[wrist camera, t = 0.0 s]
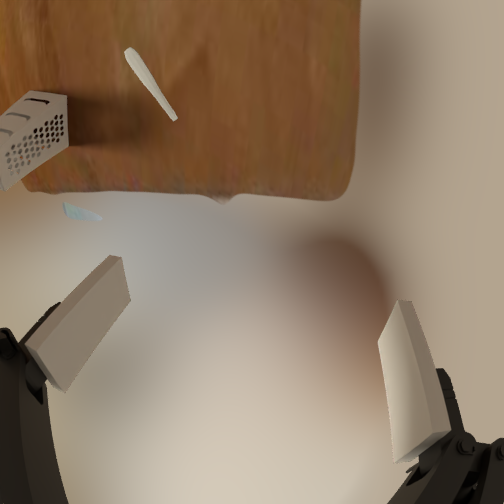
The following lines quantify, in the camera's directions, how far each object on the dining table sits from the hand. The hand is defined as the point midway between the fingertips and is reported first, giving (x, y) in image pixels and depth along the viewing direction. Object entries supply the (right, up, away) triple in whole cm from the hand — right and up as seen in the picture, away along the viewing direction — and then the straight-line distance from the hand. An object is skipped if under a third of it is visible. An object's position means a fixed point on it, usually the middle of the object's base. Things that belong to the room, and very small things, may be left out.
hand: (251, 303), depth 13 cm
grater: (-36, +27, +23) cm, 51 cm away
